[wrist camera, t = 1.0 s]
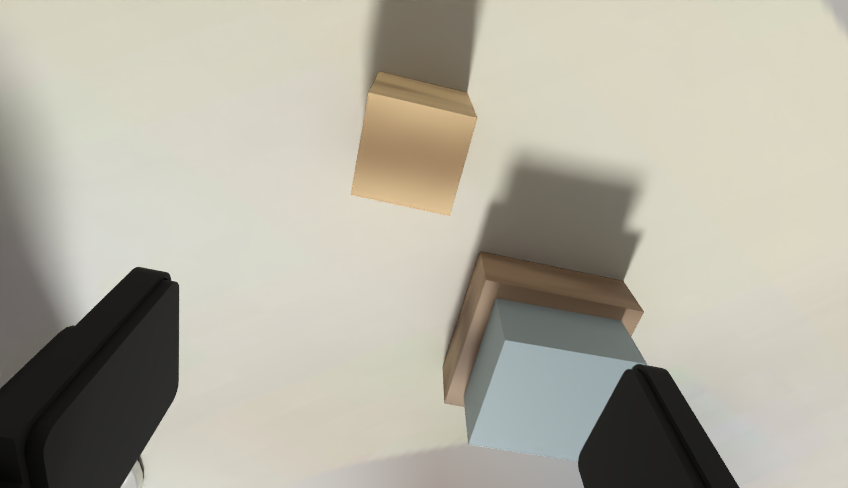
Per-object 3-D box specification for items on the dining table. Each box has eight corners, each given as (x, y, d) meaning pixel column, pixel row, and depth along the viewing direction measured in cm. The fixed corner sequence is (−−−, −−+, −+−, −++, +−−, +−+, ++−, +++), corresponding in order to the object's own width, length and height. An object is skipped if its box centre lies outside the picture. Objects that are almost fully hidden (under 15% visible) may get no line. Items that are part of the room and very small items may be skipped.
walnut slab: (569, 386, 39) (583, 427, 35) (442, 363, 38) (444, 403, 34) (621, 277, 34) (644, 311, 31) (479, 248, 33) (485, 279, 30)
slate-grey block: (577, 414, 34) (594, 463, 31) (463, 396, 34) (468, 444, 30) (621, 320, 31) (647, 364, 27) (495, 298, 30) (505, 340, 27)
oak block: (445, 175, 30) (449, 215, 25) (363, 157, 30) (350, 194, 25) (467, 92, 28) (477, 117, 23) (379, 71, 28) (368, 92, 22)
